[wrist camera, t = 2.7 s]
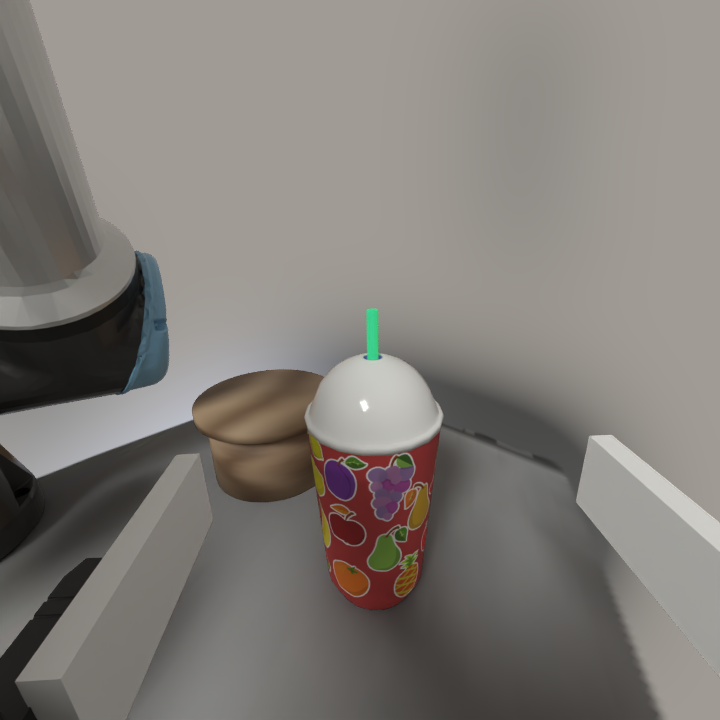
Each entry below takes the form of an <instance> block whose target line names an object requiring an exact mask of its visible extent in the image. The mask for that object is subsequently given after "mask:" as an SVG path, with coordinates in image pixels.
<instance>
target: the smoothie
mask: <svg viewBox="0 0 720 720" xmlns="http://www.w3.org/2000/svg"><path fill="white" fill-rule="evenodd" d="M443 416H444V415H443V413H442V410H441V408H440V405H439V404H438V403H437V402H436V401H435V400H434V398H433V396H432V393H431V391H430V389H429V386H428V384H427V383H426V381H425V380H424V378H423V377H422V375H421V374H420V373H419V372H418V371H416V369H414V368H413V367H412V366H411V365H410V364H408V363H407V362H405V361H404V360H402V359H399V358H397V357H394V356H392V355H388V354H384V353H378V310H377V309H367V353H363V354H359V355H355V356H352V357H350V358H348V359H346V360H343V361H342V362H340V363H339V364H337V365H336V366H335V367H334V368H333V369H332V370H331V371H330V372H329V373H328V374H327V375H326V376H325V377H324V378H323V380H322V381H321V383H320V384H319V386H318V388H317V391H316V393H315V396H314V399H313V401H312V402H311V403H310V404H309V405H308V406H307V409H306V413H305V416H304V419H305V423H306V426H307V433H308V440H309V446H310V453H311V459H312V466H313V472H314V479H315V485H316V492H317V498H318V505H319V511H320V518H321V524H322V531H323V537H324V544H325V551H326V557H327V564H328V570H329V573H330V576H331V579H332V581H333V583H334V584H335V585H336V587H337V588H338V589H339V590H340V592H341V593H343V594H344V596H345V597H346V598H347V600H349V601H350V602H352V603H354V604H355V605H357V606H358V607H362V608H365V609H369V610H383V609H387V608H390V607H392V606H395V605H397V604H398V603H400V602H401V601H402V600H403V599H405V598H406V596H407V595H408V593H409V592H411V591H412V590H413V589H414V587H415V586H416V584H417V582H418V581H419V579H420V576H421V570H422V563H423V555H424V548H425V540H426V533H427V525H428V518H429V510H430V503H431V495H432V488H433V480H434V473H435V465H436V458H437V450H438V443H439V435H440V428H441V424H442V420H443Z"/></svg>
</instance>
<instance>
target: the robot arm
mask: <svg viewBox="0 0 720 720" xmlns="http://www.w3.org/2000/svg"><path fill="white" fill-rule="evenodd" d="M168 365H169V339H168V329H167V325H166V305H165V298H164V291H163V285H162V280H161V275H160V271H159V267H158V264H157V261H156V259H155V258H154V257H153V256H152V255H150V254H146V253H141V252H139V251H134V250H133V248H132V246H131V244H130V242H129V240H128V239H127V237H126V236H125V235H124V234H123V233H122V232H121V231H120V230H119V229H118V228H117V227H115V226H114V225H113V224H111V223H109V222H108V221H106V220H104V219H102V218H100V217H99V215H98V212H97V209H96V206H95V203H94V200H93V196H92V193H91V190H90V187H89V184H88V181H87V178H86V175H85V172H84V168H83V165H82V162H81V159H80V156H79V153H78V150H77V147H76V143H75V140H74V137H73V134H72V131H71V128H70V125H69V122H68V118H67V116H66V112H65V109H64V106H63V103H62V100H61V97H60V94H59V90H58V87H57V84H56V81H55V78H54V75H53V72H52V69H51V65H50V63H49V59H48V56H47V53H46V50H45V47H44V44H43V40H42V37H41V34H40V31H39V28H38V25H37V22H36V19H35V16H34V12H33V9H32V6H31V3H30V0H0V415H5V414H9V413H15V412H20V411H25V410H30V409H36V408H41V407H46V406H51V405H57V404H62V403H68V402H74V401H79V400H85V399H90V398H96V397H102V396H107V395H112V394H116V395H119V394H125V393H127V392H128V391H130V390H133V389H137V388H142V387H146V386H150V385H153V384H156V383H158V382H159V381H161V380H162V379H163V378H164V376H165V375H166V373H167V370H168ZM576 502H577V503H578V505H579V506H580V507H581V508H582V510H583V511H584V512H585V513H586V515H587V516H588V517H589V518H590V519H591V521H592V522H593V523H594V524H595V525H596V527H597V528H598V529H599V530H600V532H601V533H602V534H603V535H604V537H605V538H606V539H607V540H608V542H609V543H610V544H611V545H612V546H613V548H614V549H615V550H616V551H617V553H618V554H619V555H620V556H621V557H622V559H623V560H624V561H625V562H626V564H627V565H628V566H629V567H630V569H631V570H632V571H633V572H634V573H635V574H636V576H637V577H638V578H639V579H640V581H641V582H642V583H643V584H644V586H645V587H646V588H647V589H648V591H649V592H650V593H651V594H652V595H653V597H654V598H655V599H656V600H657V602H658V603H659V604H660V605H661V606H662V608H663V609H664V610H665V611H666V613H667V614H668V615H669V616H670V618H671V619H672V620H673V621H674V622H675V624H676V625H677V626H678V627H679V628H680V630H681V631H682V632H683V633H684V635H685V636H686V637H687V638H688V639H689V641H690V642H691V643H692V645H693V646H694V647H695V648H696V649H697V651H698V652H699V653H700V654H701V656H702V657H703V658H704V659H705V660H706V662H707V663H708V664H709V665H710V667H711V668H712V669H713V670H714V672H715V673H716V674H717V675H718V676H719V678H720V523H719V522H718V521H717V520H715V519H714V518H713V517H712V516H711V515H709V514H708V513H707V512H706V511H704V510H703V509H702V508H701V507H700V506H698V505H697V504H696V503H695V502H694V501H692V500H691V499H690V498H689V497H687V496H686V495H685V494H683V493H682V492H681V491H680V490H679V489H677V488H676V487H675V486H674V485H672V484H671V483H670V482H669V481H668V480H666V479H665V478H664V477H663V476H662V475H660V474H659V473H658V472H657V471H655V470H654V469H653V468H651V467H650V466H649V465H648V464H647V463H646V462H644V461H643V460H642V459H640V458H639V457H638V456H637V455H635V454H634V453H633V452H632V451H631V450H629V449H628V448H627V447H626V446H625V445H623V444H622V443H621V442H620V441H618V440H617V439H616V438H615V437H614V436H612V435H600V436H589V441H588V445H587V450H586V456H585V460H584V465H583V470H582V475H581V480H580V484H579V489H578V494H577V499H576ZM44 506H45V499H44V496H43V494H42V491H41V489H40V486H39V484H38V481H37V479H36V478H35V476H34V475H33V474H32V473H31V472H30V471H29V470H28V469H27V468H26V467H25V466H24V465H22V464H21V463H20V462H19V461H18V460H17V459H16V458H15V457H14V456H13V455H12V454H10V453H9V452H8V451H7V450H6V449H5V448H4V447H3V446H2V445H1V444H0V559H2V558H3V557H4V556H5V555H7V554H8V553H9V552H10V551H11V550H13V549H14V548H15V547H16V546H17V545H18V544H19V543H20V542H21V541H22V540H23V539H24V538H25V537H26V536H27V535H28V534H29V533H30V532H31V530H32V529H33V528H34V527H35V525H36V524H37V522H38V521H39V519H40V517H41V515H42V513H43V510H44ZM212 521H213V516H212V512H211V507H210V502H209V497H208V492H207V487H206V482H205V477H204V472H203V467H202V462H201V458H200V454H181V455H176V456H175V457H174V459H173V460H172V461H171V463H170V464H169V466H168V467H167V469H166V470H165V471H164V473H163V474H162V476H161V477H160V478H159V480H158V481H157V483H156V484H155V485H154V487H153V488H152V490H151V491H150V492H149V494H148V495H147V497H146V498H145V499H144V501H143V502H142V504H141V505H140V506H139V508H138V509H137V511H136V512H135V513H134V515H133V516H132V518H131V519H130V520H129V522H128V523H127V525H126V526H125V528H124V529H123V530H122V532H121V533H120V535H119V536H118V537H117V539H116V540H115V542H114V543H113V544H112V546H111V547H110V549H109V550H108V551H107V553H106V554H105V556H104V557H103V558H86V559H85V560H84V561H83V562H81V563H80V564H79V565H78V566H77V567H75V568H74V569H73V570H72V571H70V572H69V573H68V574H67V575H66V576H64V578H63V579H62V580H61V581H60V583H59V584H58V585H57V586H56V588H55V589H54V590H53V592H52V593H51V594H50V595H49V597H48V600H47V602H44V603H43V604H42V606H41V607H40V608H39V609H38V611H37V612H36V613H35V615H34V618H33V620H30V621H29V622H28V624H27V625H26V626H25V627H24V629H23V630H22V631H21V632H20V634H19V635H18V636H17V638H16V639H15V640H14V641H13V643H12V644H11V645H10V647H9V648H8V649H7V650H6V652H5V653H4V654H3V655H2V657H1V658H0V720H126V718H127V716H128V713H129V711H130V709H131V707H132V704H133V702H134V700H135V697H136V695H137V693H138V691H139V688H140V686H141V684H142V681H143V679H144V677H145V675H146V672H147V670H148V668H149V665H150V663H151V661H152V659H153V656H154V654H155V652H156V649H157V647H158V645H159V642H160V640H161V638H162V636H163V633H164V631H165V629H166V626H167V624H168V622H169V620H170V617H171V615H172V613H173V610H174V608H175V606H176V604H177V601H178V599H179V597H180V594H181V592H182V590H183V588H184V585H185V583H186V581H187V578H188V576H189V574H190V571H191V569H192V567H193V565H194V562H195V560H196V558H197V555H198V553H199V551H200V549H201V546H202V544H203V542H204V539H205V537H206V535H207V533H208V530H209V528H210V526H211V523H212Z"/></svg>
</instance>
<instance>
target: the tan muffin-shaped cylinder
mask: <svg viewBox="0 0 720 720" xmlns="http://www.w3.org/2000/svg"><path fill="white" fill-rule="evenodd" d="M323 378H324V377H323V376H320V375H318V374H314V373H311V372H306V371H299V370H266V371H259V372H253V373H248V374H244V375H240V376H236V377H233V378H230V379H227V380H225V381H222V382H220V383H218V384H216V385H214V386H212V387H210V388H209V389H207V390H206V391H205V392H203V393H202V394H201V395H200V396H199V397H198V398H197V399H196V401H195V402H194V404H193V407H192V414H193V419H194V423H195V426H196V428H197V429H198V430H199V431H200V432H201V433H202V434H203V435H205V436H207V437H209V441H210V446H211V452H212V457H213V462H214V467H215V473H216V478H217V482H218V484H219V486H220V487H221V489H222V490H223V491H224V492H225V493H227V494H228V495H230V496H232V497H234V498H236V499H240V500H243V501H249V502H272V501H278V500H283V499H287V498H290V497H293V496H296V495H298V494H301V493H303V492H305V491H307V490H308V489H310V488H312V487H313V486H314V485H315V479H314V472H313V466H312V459H311V453H310V446H309V440H308V433H307V426H306V423H305V419H304V416H305V413H306V409H307V406H308V405H309V404H310V403H311V402H312V401H313V399H314V396H315V393H316V391H317V388H318V386H319V384H320V383H321V381H322V380H323Z"/></svg>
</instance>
